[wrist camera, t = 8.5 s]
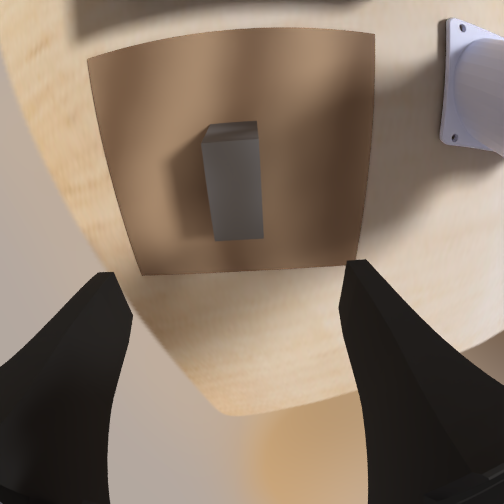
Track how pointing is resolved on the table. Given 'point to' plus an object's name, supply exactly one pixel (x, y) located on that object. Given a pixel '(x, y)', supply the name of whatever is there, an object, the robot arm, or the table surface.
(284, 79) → the lid
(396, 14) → the table surface
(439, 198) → the table surface
